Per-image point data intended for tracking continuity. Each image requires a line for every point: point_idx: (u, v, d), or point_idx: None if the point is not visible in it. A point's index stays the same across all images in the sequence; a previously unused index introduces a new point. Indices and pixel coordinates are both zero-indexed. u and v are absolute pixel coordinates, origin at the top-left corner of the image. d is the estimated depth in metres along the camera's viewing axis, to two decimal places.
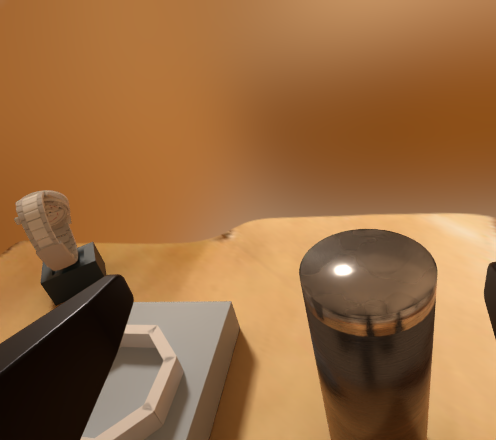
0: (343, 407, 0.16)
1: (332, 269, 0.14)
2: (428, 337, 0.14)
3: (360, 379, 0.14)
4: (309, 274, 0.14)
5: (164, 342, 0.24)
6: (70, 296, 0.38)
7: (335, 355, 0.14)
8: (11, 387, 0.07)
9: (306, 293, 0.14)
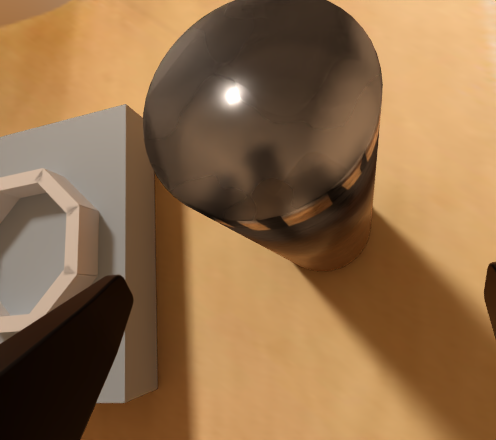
0: (271, 250, 0.13)
1: (197, 117, 0.08)
2: (367, 181, 0.09)
3: (278, 246, 0.10)
4: (160, 137, 0.08)
5: (59, 189, 0.20)
6: None
7: None
8: (12, 386, 0.07)
9: None
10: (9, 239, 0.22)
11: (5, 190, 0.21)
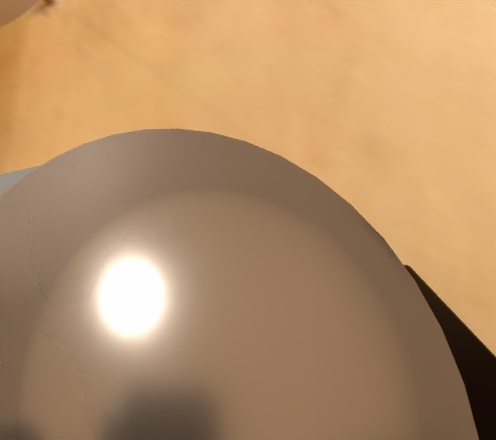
0: None
1: None
2: None
3: None
4: None
5: None
6: None
7: None
8: None
9: None
10: None
11: None
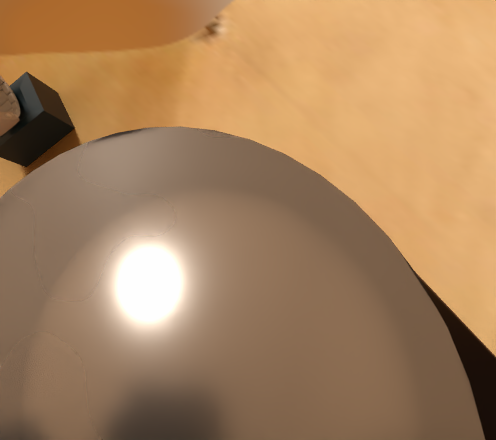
0: None
1: None
2: None
3: None
4: None
5: None
6: (37, 154, 0.31)
7: None
8: None
9: None
10: None
11: None
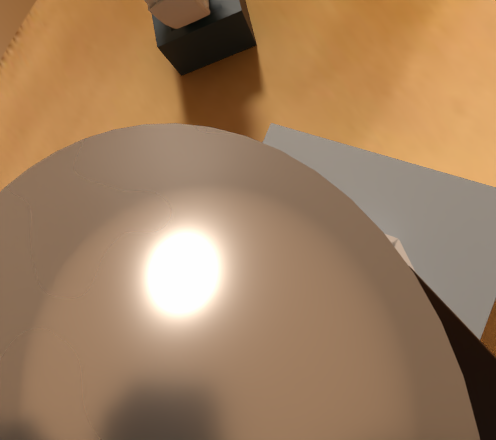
0: None
1: None
2: None
3: None
4: None
5: None
6: (201, 64, 0.24)
7: None
8: None
9: None
10: None
11: None
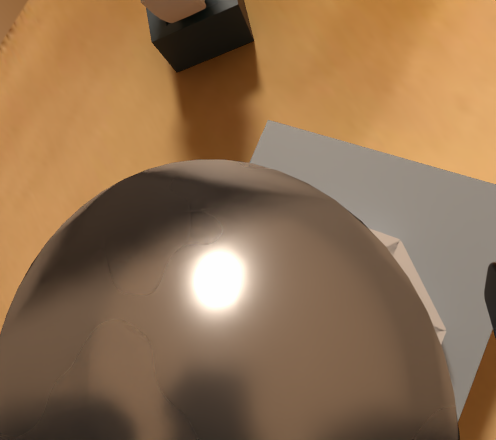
0: None
1: (78, 407, 0.04)
2: None
3: None
4: (14, 432, 0.04)
5: (418, 287, 0.14)
6: (197, 60, 0.24)
7: None
8: None
9: None
10: None
11: None
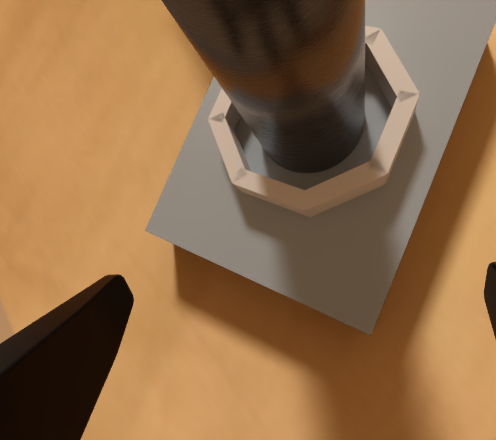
0: (244, 96, 0.11)
1: None
2: None
3: (245, 44, 0.08)
4: None
5: (396, 64, 0.15)
6: None
7: (192, 12, 0.08)
8: (12, 387, 0.07)
9: None
10: None
11: None
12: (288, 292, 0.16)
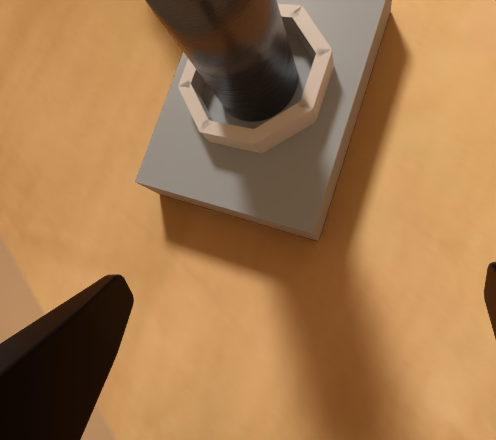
0: (194, 48, 0.16)
1: None
2: None
3: (186, 3, 0.13)
4: None
5: (314, 30, 0.20)
6: None
7: None
8: (12, 386, 0.07)
9: None
10: None
11: None
12: (249, 211, 0.21)
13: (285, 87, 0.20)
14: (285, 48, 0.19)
